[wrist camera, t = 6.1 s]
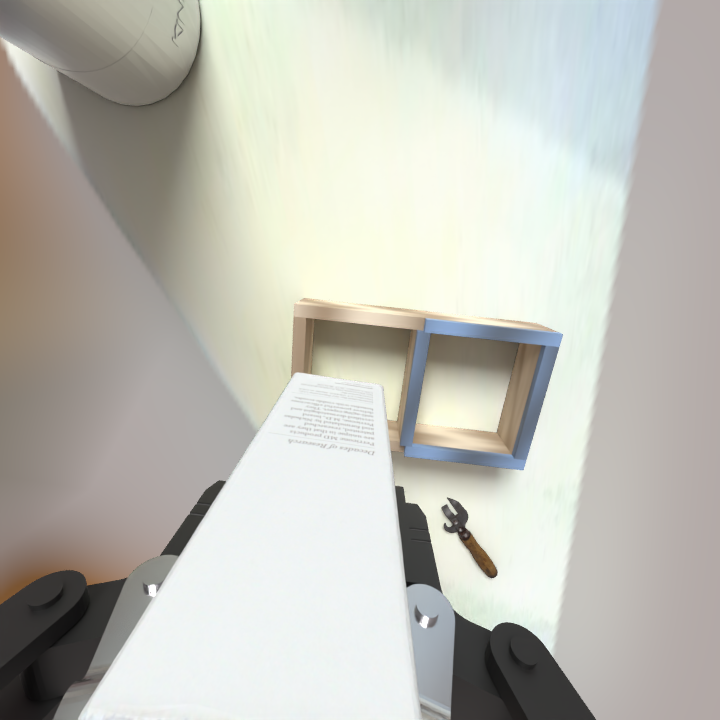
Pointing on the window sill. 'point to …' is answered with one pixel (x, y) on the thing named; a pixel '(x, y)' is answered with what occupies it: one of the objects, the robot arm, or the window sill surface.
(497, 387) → the window sill surface
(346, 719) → the skincare box
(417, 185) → the window sill surface
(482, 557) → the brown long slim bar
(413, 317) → the organiser
